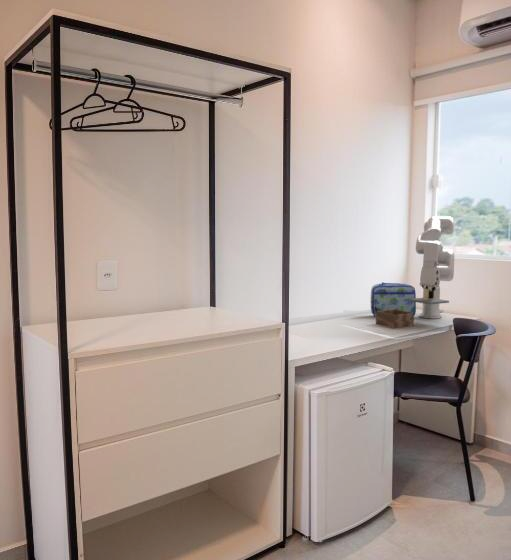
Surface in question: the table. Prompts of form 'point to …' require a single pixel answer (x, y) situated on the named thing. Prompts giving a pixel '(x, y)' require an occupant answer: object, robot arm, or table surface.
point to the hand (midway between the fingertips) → (428, 297)
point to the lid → (427, 300)
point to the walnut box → (395, 318)
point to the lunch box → (392, 297)
